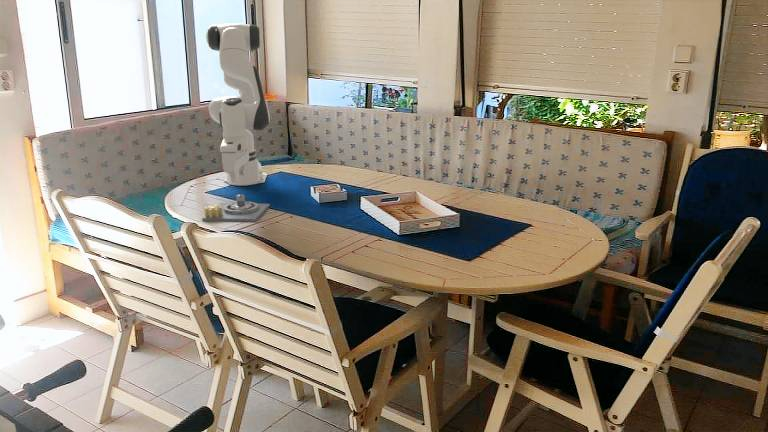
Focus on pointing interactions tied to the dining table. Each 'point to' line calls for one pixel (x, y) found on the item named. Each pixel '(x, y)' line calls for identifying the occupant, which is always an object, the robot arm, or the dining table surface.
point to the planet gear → (240, 203)
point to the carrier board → (234, 212)
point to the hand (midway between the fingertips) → (238, 178)
